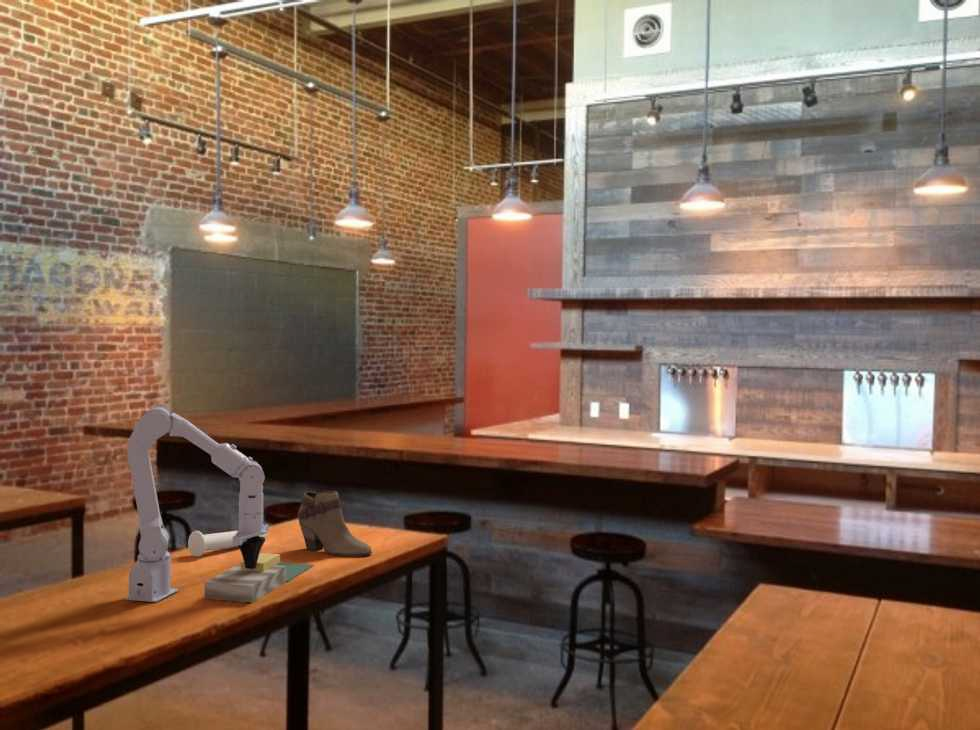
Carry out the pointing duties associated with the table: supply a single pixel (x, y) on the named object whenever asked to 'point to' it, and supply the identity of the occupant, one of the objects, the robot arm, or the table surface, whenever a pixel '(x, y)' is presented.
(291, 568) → the mat
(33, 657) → the table surface
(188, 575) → the table surface
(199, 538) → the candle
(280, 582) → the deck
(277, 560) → the yellow rectangular block
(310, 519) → the boot
